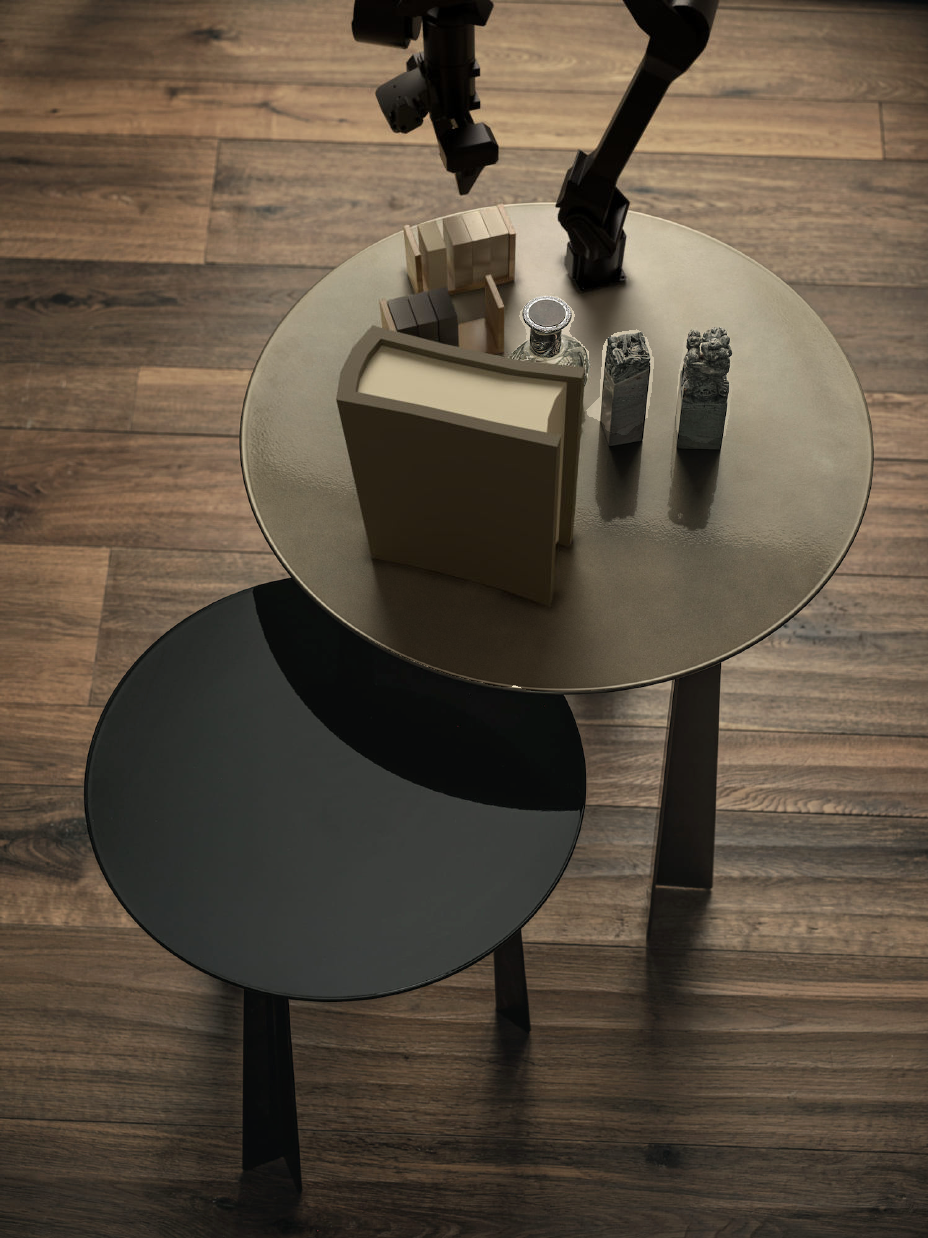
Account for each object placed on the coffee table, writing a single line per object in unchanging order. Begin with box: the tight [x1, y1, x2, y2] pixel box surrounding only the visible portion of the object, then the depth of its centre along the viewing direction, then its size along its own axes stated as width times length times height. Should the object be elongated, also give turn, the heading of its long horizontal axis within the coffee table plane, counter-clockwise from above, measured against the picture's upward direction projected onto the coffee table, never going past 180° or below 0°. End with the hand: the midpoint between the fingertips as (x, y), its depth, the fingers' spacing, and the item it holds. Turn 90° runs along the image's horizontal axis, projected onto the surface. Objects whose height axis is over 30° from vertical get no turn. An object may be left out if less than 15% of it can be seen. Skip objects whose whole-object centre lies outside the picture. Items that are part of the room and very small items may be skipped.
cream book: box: [417, 220, 448, 291], centre depth 138 cm, size 2×5×7 cm, turn 16°
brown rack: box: [402, 203, 517, 296], centre depth 139 cm, size 13×6×8 cm, turn 106°
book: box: [335, 324, 587, 607], centre depth 111 cm, size 22×9×28 cm, turn 72°
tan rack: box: [378, 275, 506, 355], centre depth 133 cm, size 14×6×8 cm, turn 106°
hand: (453, 169), depth 135 cm, fingers open, 9 cm apart
